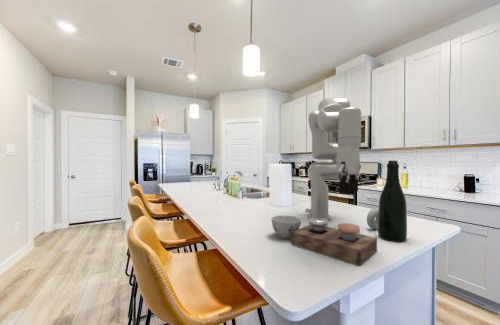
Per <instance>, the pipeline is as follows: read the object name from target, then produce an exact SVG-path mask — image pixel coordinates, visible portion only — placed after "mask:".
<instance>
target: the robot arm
mask: <svg viewBox="0 0 500 325" xmlns="http://www.w3.org/2000/svg"><path fill="white" fill-rule="evenodd" d="M317 109H318V110H314V111H313V110H312V111H310V113H309V114H308V126H309V129H310V133H311V156H312V158H313V159H315V160H325V161H316V162H315V161H314V162H312V163H311V164H310V165H309V167H308V168H309V176H310V177H309V178H310V208H307V207H306V208H305V213H308V215H307V218H308V219H310V218H315V217H316V218H324V219H327V220H328V221H330V220H331V219H332V215H329V186H328V184H327V182H325V180H338V182H339V193H340V194H342V195H349V194H350V192H353V193H354V192H356V193H357V192H358V191H359V173H360V172H361V171H360V169H361V158H360V154H361V153H360V148H361V147H362V110H361V109H360V108H359V107H353V106H352V107H351V103H350V101H349V99H348V98H345V97H330V98H324V99H322V100H321V101H320V102H319V103H318V108H317ZM328 132H337V134H338V135H337V142H329V133H328ZM327 160H329V161H327ZM330 160H331V161H330Z"/></svg>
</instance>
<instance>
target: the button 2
mask: <svg viewBox="0 0 500 325" xmlns="http://www.w3.org/2000/svg"><path fill="white" fill-rule="evenodd" d="M337 229H338V230H339V231H341V240H345V241H348V242H352V243H354V242H356V233H358V234H360V229H361V227H360V226H359V225H357V224H354V223H344V222H342V223H339V224H337Z"/></svg>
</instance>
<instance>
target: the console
mask: <svg viewBox="0 0 500 325" xmlns="http://www.w3.org/2000/svg"><path fill="white" fill-rule="evenodd" d="M291 245H294V246H296V247H300V248H303V249H306V250H309V251H312V252H315V253H318V254H322V255H324V256H328V257H331V258H333V259H334V258H335V259H336V260H340V261H343V262H346V263H350V264H353V265H355V266H360V267H361V266H362V265H363V264H364V263H366V261H369V259H370V258H372V256H374V255H375V254H376V253H377V252H378V249H377V248H378V237H375V236H371V235H367V234H362V233H356V242H354V243H352V242H348V241H345V240H341V231H339V230H338V228H334V227H330V226H325V233H324V234H322V235H321V234H317V233H313V232H312V225H311V224H307V225H305V226H303V227H299V229H297V230H295V231H292V238H291Z"/></svg>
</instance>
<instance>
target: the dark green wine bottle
mask: <svg viewBox="0 0 500 325" xmlns="http://www.w3.org/2000/svg"><path fill="white" fill-rule="evenodd" d="M398 162H399V161H398V160H388V162H387V164H386V179H385V184H384V186H383V187H382V188H383V189H382V191H381V192H380V196H379V201H378V209H379V213H378V229H377V234H378V237H379V238H381V239H383V240H385V241H390V242H396V243H397V242H399V243H400V242H401V243H402V242H405V241H407V237H408V233H407V232H408V217H407V216H408V215H407V214H408V213H407V210H408V209H407V199H406V196H405V193H404V191H403V188H402V186H401V182H400V176H399V175H400V172H399V171H400V170H399V169H400V164H399V163H398Z"/></svg>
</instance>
